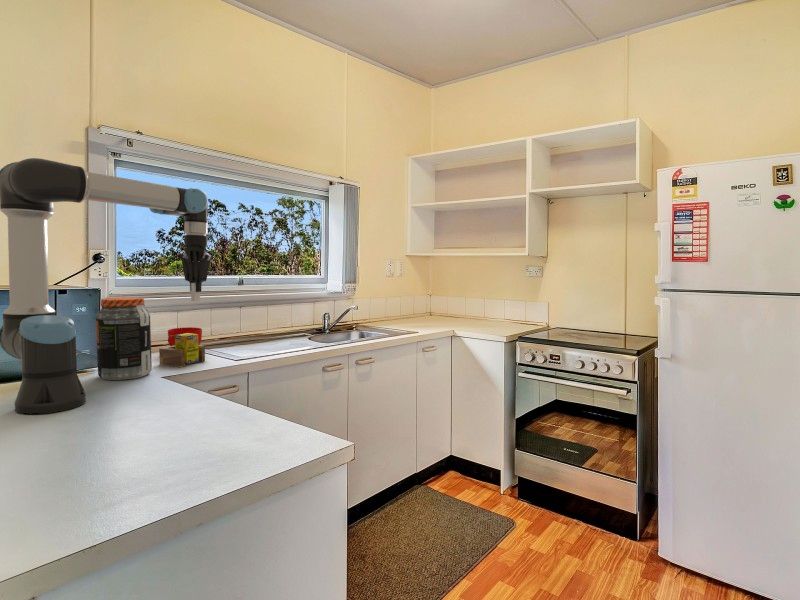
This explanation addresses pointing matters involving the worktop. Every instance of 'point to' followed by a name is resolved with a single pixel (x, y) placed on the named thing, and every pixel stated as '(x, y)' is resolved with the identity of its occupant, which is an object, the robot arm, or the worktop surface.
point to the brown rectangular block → (177, 356)
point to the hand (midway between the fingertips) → (195, 301)
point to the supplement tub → (123, 339)
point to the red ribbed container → (183, 331)
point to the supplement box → (188, 347)
